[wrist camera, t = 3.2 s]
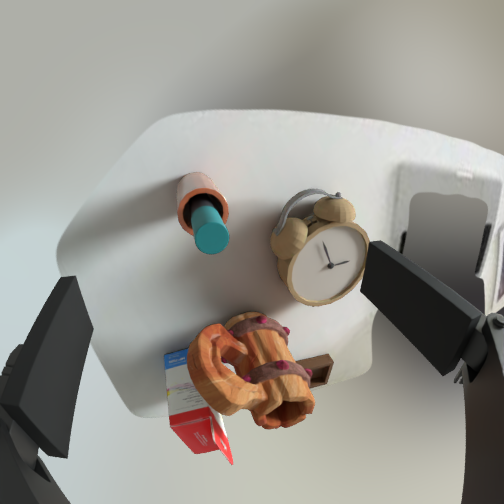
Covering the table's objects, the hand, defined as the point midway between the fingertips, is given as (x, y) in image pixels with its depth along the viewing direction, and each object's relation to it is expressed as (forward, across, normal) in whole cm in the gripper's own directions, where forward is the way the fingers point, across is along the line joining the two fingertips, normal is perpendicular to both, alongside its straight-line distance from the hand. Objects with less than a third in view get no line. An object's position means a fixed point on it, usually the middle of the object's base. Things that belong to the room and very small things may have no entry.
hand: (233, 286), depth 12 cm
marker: (+18, 0, 0) cm, 18 cm away
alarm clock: (+19, +13, -7) cm, 24 cm away
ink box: (+19, -4, -24) cm, 31 cm away
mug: (+19, +3, -17) cm, 25 cm away
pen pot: (+18, 0, 0) cm, 19 cm away
